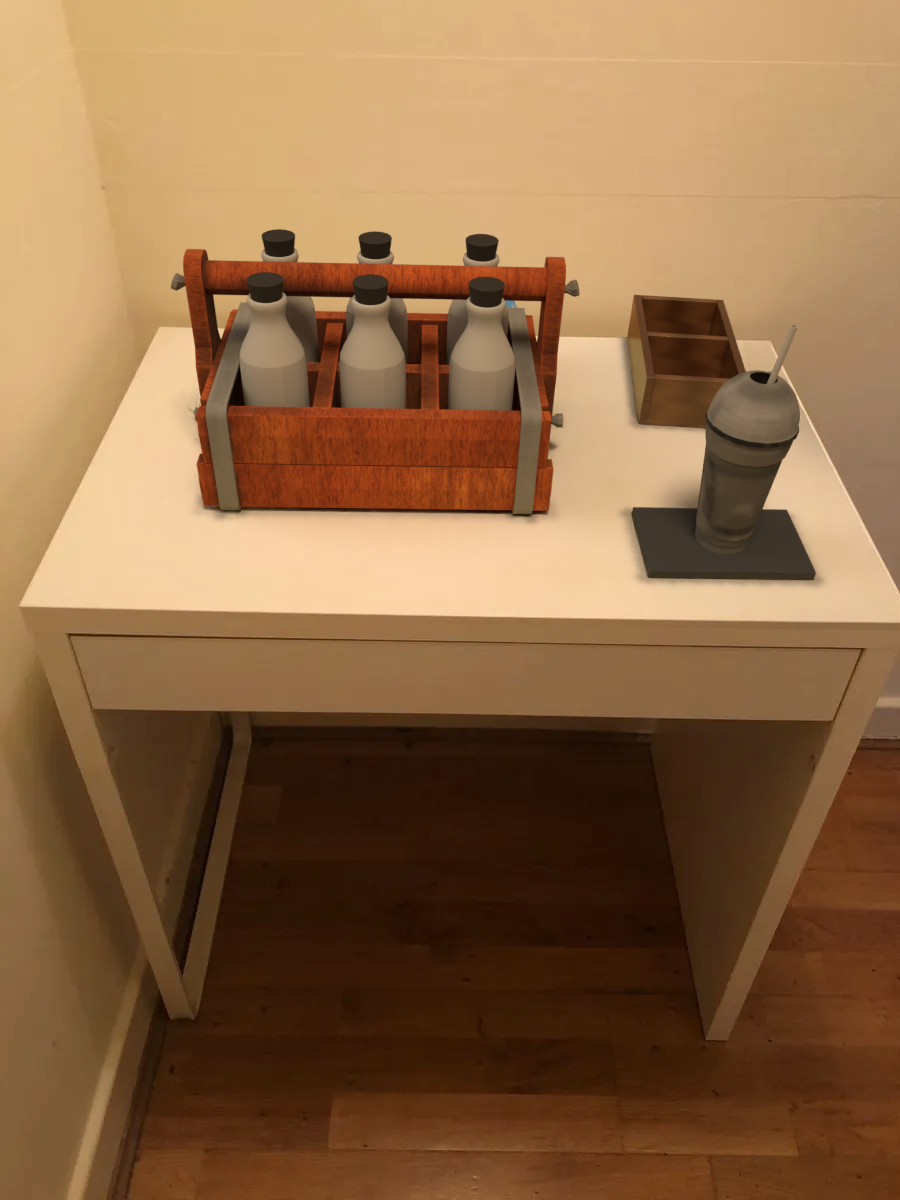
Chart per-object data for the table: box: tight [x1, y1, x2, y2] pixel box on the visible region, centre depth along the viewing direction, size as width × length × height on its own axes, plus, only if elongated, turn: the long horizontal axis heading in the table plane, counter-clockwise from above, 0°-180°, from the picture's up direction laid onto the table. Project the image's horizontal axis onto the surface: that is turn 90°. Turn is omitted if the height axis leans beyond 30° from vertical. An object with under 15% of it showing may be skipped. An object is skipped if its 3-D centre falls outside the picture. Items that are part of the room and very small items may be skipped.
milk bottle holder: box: [170, 228, 581, 515], centre depth 89 cm, size 21×35×19 cm, turn 91°
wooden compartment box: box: [626, 294, 747, 429], centre depth 106 cm, size 10×19×5 cm, turn 176°
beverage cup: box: [695, 324, 801, 554], centre depth 78 cm, size 7×7×20 cm
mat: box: [631, 506, 817, 581], centre depth 85 cm, size 14×9×1 cm, turn 91°
